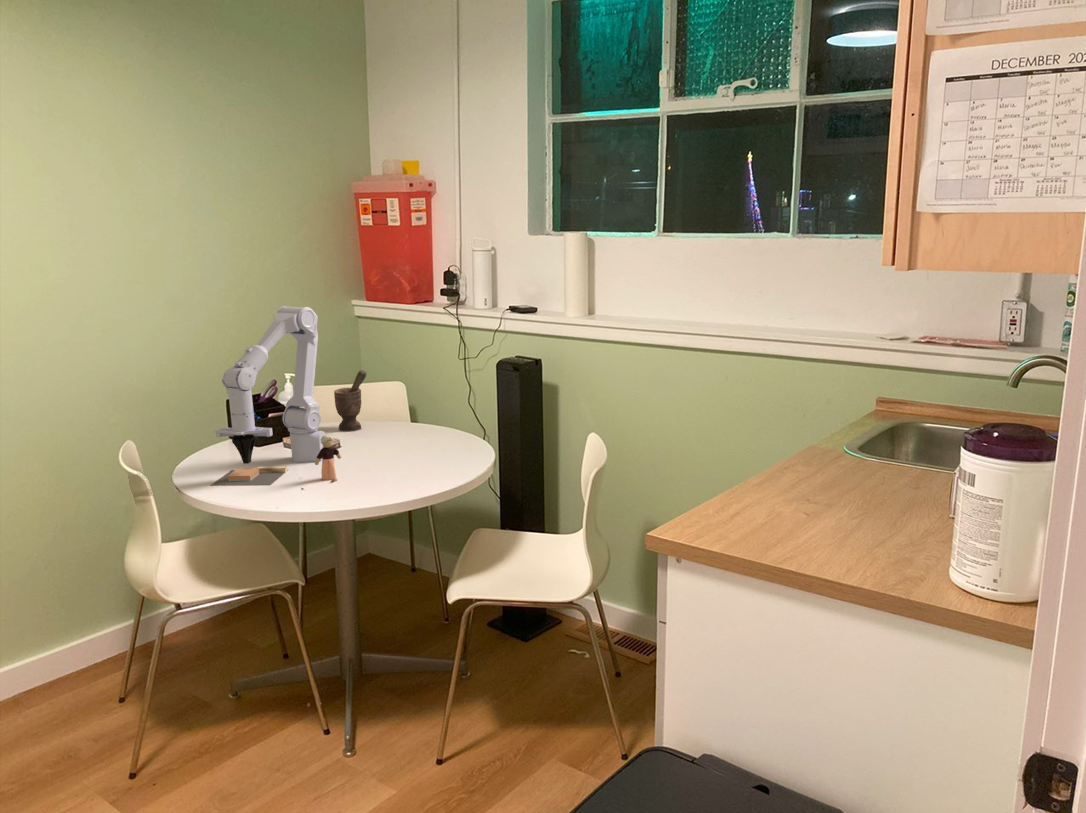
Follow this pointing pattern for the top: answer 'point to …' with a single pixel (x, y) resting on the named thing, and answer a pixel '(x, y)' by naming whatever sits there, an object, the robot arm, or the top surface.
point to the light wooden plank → (269, 469)
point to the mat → (258, 480)
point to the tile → (243, 475)
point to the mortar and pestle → (349, 404)
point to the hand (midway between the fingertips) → (247, 462)
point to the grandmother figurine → (327, 458)
